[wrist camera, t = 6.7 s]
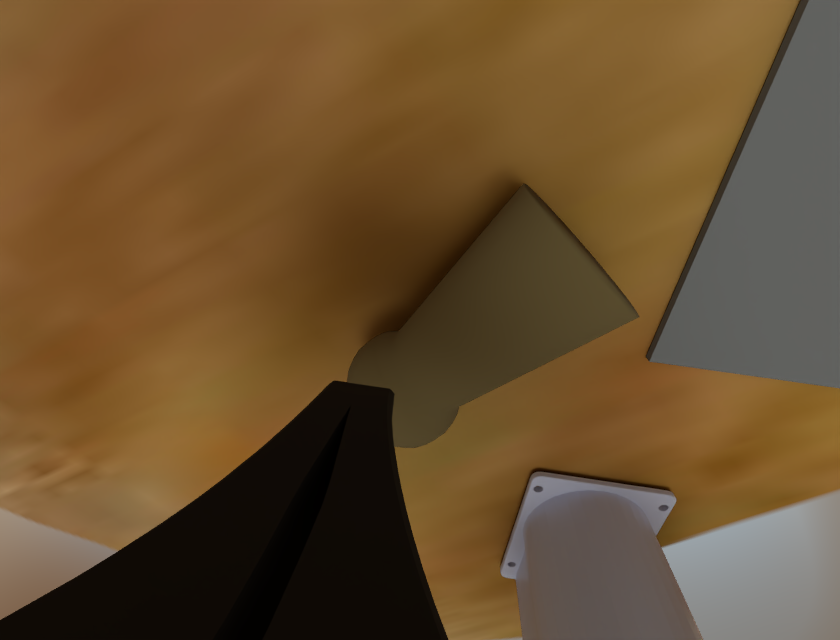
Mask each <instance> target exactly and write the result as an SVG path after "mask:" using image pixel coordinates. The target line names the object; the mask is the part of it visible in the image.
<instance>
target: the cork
mask: <svg viewBox="0 0 840 640" xmlns="http://www.w3.org/2000/svg"><path fill="white" fill-rule="evenodd" d="M638 317H639V315H638V313H637V312H636V310H635V309H634V307H633V306H632V304H631V303H630V302H629V300H628V299H627V298H626V296H625V295H624V294H623V293H622V291H621V290H620V289H619V288H618V286H617V285H616V284H615V282H614V281H613V280H612V279H611V278H610V276H609V275H608V274H607V273H606V272H605V270H604V269H603V268H602V267H601V265H600V264H599V263H598V262H597V261H596V260H595V258H594V257H593V256H592V255H591V254H590V252H589V251H588V250H587V249H586V248H585V247H584V246H583V244H582V243H581V242H580V241H579V240H578V239H577V237H576V236H575V235H574V234H573V233H572V232H571V231H570V230H569V228H568V227H567V226H566V225H565V224H564V223H563V222H562V221H561V219H560V218H559V217H558V216H557V215H556V214H555V213H554V212H553V211H552V210H551V209H550V208H549V206H548V205H547V204H546V203H545V202H544V201H543V200H542V199H541V198H540V197H539V196H538V195H537V194H536V193H535V192H534V191H533V190H532V189H531V188H530V187H529V186H527V185H526V184H524V183H523V185H522V186H521V187H520V188H519V189H518V190H517V192H516V193H515V194H514V195H513V196H512V198H511V199H510V200H509V201H508V202H507V203H506V205H505V206H504V207H503V208H502V209H501V211H500V212H499V213H498V214H497V215H496V216H495V218H494V219H493V220H492V221H491V222H490V224H489V225H488V226H487V227H486V228H485V230H484V231H483V232H482V233H481V234H480V235H479V237H478V238H477V239H476V240H475V241H474V243H473V244H472V245H471V246H470V247H469V248H468V250H467V251H466V252H465V253H464V254H463V256H462V257H461V258H460V259H459V260H458V262H457V263H456V264H455V265H454V266H453V267H452V269H451V270H450V271H449V272H448V273H447V275H446V276H445V277H444V278H443V279H442V280H441V282H440V283H439V284H438V285H437V286H436V288H435V289H434V290H433V291H432V292H431V293H430V295H429V296H428V297H427V298H426V299H425V301H424V302H423V303H422V304H421V305H420V307H419V308H418V309H417V310H416V311H415V312H414V314H413V315H412V316H411V317H410V318H409V320H408V321H407V322H406V323H405V324H404V325H403V327H402V328H401V329H400V330H399V331H390V332H385V333H382V334H380V335H378V336H376V337H375V338H373V339H372V340H370V341H369V342H368V343H366V344H365V345H364V346H363V347H362V348H361V349H360V350H359V351H358V352H357V354H356V356H355V357H354V359H353V361H352V363H351V366H350V368H349V371H348V378H347V382H348V383H355V384H362V385H369V386H376V387H382V388H389V389H391V390H392V391H393V393H394V394H395V395H394V405H393V415H392V428H393V440H394V447H403V448H416V447H419V446H423V445H426V444H428V443H430V442H431V441H433V440H435V439H436V438H438V437H439V436H441V435H442V434H444V433H445V432H446V430H447V429H448V428H449V427H450V425H451V424H452V423H453V421H454V419H455V417H456V415H457V413H458V409H459V406H461V405H463V404H465V403H467V402H470V401H472V400H474V399H476V398H478V397H480V396H482V395H484V394H486V393H488V392H490V391H492V390H494V389H496V388H498V387H500V386H502V385H504V384H506V383H508V382H510V381H512V380H514V379H516V378H518V377H520V376H522V375H524V374H526V373H528V372H530V371H532V370H534V369H536V368H538V367H540V366H542V365H544V364H546V363H548V362H550V361H552V360H554V359H556V358H558V357H560V356H562V355H564V354H566V353H568V352H570V351H572V350H574V349H576V348H578V347H580V346H582V345H584V344H586V343H588V342H590V341H592V340H594V339H596V338H598V337H600V336H602V335H604V334H606V333H608V332H610V331H612V330H614V329H616V328H618V327H620V326H622V325H624V324H626V323H628V322H630V321H632V320H634V319H636V318H638Z"/></svg>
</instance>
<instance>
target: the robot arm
mask: <svg viewBox="0 0 840 640" xmlns="http://www.w3.org/2000/svg"><path fill="white" fill-rule="evenodd" d="M394 395H395V394H394V393H393V391H392V390H391V389H389V388H382V387H376V386H369V385H362V384H355V383H348V382H341V381H333V382H331V383H330V384H329V385H328V386H327V387H326V388H325V389H324V390H323V391H322V392H321V393H320V394H319V395H318V396H317V397H316V398H315V399H314V400H313V401H312V402H311V403H310V404H309V405H308V406H307V407H306V408H305V409H303V410H302V411H301V412H300V413H299V414H298V415H297V416H296V417H295V418H294V419H293V420H292V421H291V422H290V423H289V424H287V425H286V426H285V427H284V428H283V429H282V430H281V431H280V432H279V433H277V434H276V435H275V436H274V437H273V438H272V439H271V440H270V441H268V442H267V443H266V444H265V445H264V446H263V447H262V448H260V449H259V450H258V451H257V452H256V453H254V454H253V455H252V456H251V457H249V458H248V459H247V460H246V461H244V462H243V463H242V464H241V465H240V466H238V467H237V468H236V469H235V470H233V471H232V472H231V473H230V474H228V475H227V476H226V477H225V478H223V479H222V480H221V481H220V482H218V483H217V484H216V485H214V486H213V487H212V488H210V489H209V490H208V491H206V492H205V493H204V494H202V495H201V496H199V497H198V498H197V499H195V500H194V501H193V502H191V503H190V504H188V505H187V506H186V507H184V508H183V509H181V510H180V511H178V512H177V513H176V514H174V515H173V516H171V517H170V518H168V519H167V520H165V521H164V522H162V523H161V524H160V525H158V526H156V527H155V528H153V529H152V530H150V531H149V532H147V533H146V534H144V535H143V536H141V537H139V538H138V539H136V540H135V541H133V542H132V543H130V544H129V545H127V546H126V547H124V548H122V549H121V550H119V551H118V552H116V553H115V554H113V555H112V556H110V557H108V558H107V559H105V560H104V561H102V562H100V563H99V564H97V565H95V566H94V567H92V568H91V569H89V570H87V571H86V572H84V573H82V574H80V575H79V576H77V577H75V578H74V579H72V580H70V581H69V582H67V583H65V584H63V585H61V586H60V587H58V588H56V589H54V590H52V591H51V592H49V593H47V594H45V595H44V596H42V597H40V598H38V599H37V600H35V601H33V602H31V603H30V604H28V605H26V606H24V607H23V608H21V609H19V610H17V611H15V612H14V613H12V614H10V615H9V616H7V617H5V618H3V619H1V620H0V640H448V637H447V635H446V632H445V630H444V627H443V624H442V622H441V619H440V616H439V614H438V611H437V609H436V606H435V603H434V600H433V597H432V594H431V591H430V588H429V585H428V582H427V579H426V576H425V573H424V570H423V567H422V564H421V561H420V557H419V554H418V551H417V547H416V544H415V541H414V537H413V534H412V530H411V526H410V522H409V518H408V515H407V511H406V506H405V502H404V497H403V493H402V489H401V484H400V479H399V474H398V468H397V461H396V455H395V448H394V440H393V428H392V415H393V405H394ZM536 486H539V487H536ZM675 503H676V498H675V496H674V494H673V493H672V492H671V491H667V490H660V489H654V488H647V487H640V486H634V485H627V484H620V483H614V482H607V481H600V480H594V479H587V478H580V477H573V476H567V475H560V474H553V473H547V472H535V473H533V474H532V475H531V477H530V480H529V483H528V486H527V489H526V492H525V495H524V498H523V501H522V504H521V507H520V510H519V513H518V516H517V519H516V522H515V525H514V528H513V531H512V534H511V537H510V540H509V543H508V546H507V549H506V552H505V555H504V558H503V561H502V564H501V567H500V571H501V575H502V576H504V577H506V578H511V579H516V586H517V594H518V603H519V612H520V620H521V629H522V637H523V640H703V638H702V636H701V634H700V631H699V630H698V627H697V625H696V623H695V621H694V618H693V616H692V614H691V612H690V610H689V607H688V605H687V603H686V601H685V599H684V596H683V594H682V592H681V590H680V588H679V586H678V584H677V581H676V579H675V577H674V575H673V572H672V570H671V568H670V566H669V564H668V562H667V559H666V557H665V555H664V553H663V551H662V548H661V546H660V544H659V542H658V540H657V537H656V535H657V534H658V532H659V530H660V528H661V527H662V525H663V523H664V522H665V520H666V518H667V517H668V515H669V513H670V512H671V510H672V508H673V506H674V505H675Z"/></svg>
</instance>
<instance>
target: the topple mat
mask: <svg viewBox="0 0 840 640" xmlns="http://www.w3.org/2000/svg"><path fill="white" fill-rule="evenodd" d="M646 358H647V359H648V360H649V361H650V362H657V363H664V364H671V365H678V366H686V367H693V368H700V369H707V370H714V371H721V372H728V373H735V374H742V375H750V376H757V377H764V378H771V379H778V380H785V381H792V382H799V383H806V384H814V385H821V386H828V387H835V388H840V0H801V1H800V3H799V6H798V8H797V10H796V12H795V15H794V17H793V19H792V22H791V24H790V26H789V29H788V31H787V33H786V35H785V38H784V40H783V42H782V45H781V47H780V49H779V52H778V54H777V56H776V58H775V61H774V63H773V65H772V68H771V70H770V72H769V75H768V77H767V79H766V82H765V84H764V86H763V88H762V91H761V93H760V95H759V98H758V100H757V102H756V105H755V107H754V109H753V111H752V114H751V116H750V118H749V121H748V123H747V125H746V128H745V130H744V132H743V134H742V137H741V139H740V141H739V144H738V146H737V148H736V151H735V153H734V155H733V157H732V160H731V162H730V164H729V167H728V169H727V171H726V174H725V176H724V178H723V180H722V183H721V185H720V187H719V190H718V192H717V194H716V197H715V199H714V201H713V204H712V206H711V208H710V210H709V213H708V215H707V217H706V220H705V222H704V224H703V227H702V229H701V231H700V233H699V236H698V238H697V240H696V243H695V245H694V247H693V250H692V252H691V254H690V256H689V259H688V261H687V263H686V266H685V268H684V270H683V273H682V275H681V277H680V279H679V282H678V284H677V286H676V289H675V291H674V293H673V296H672V298H671V300H670V302H669V305H668V307H667V309H666V312H665V314H664V316H663V319H662V321H661V323H660V326H659V328H658V330H657V332H656V335H655V337H654V339H653V342H652V344H651V346H650V349H649V351H648V353H647V355H646Z"/></svg>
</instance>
